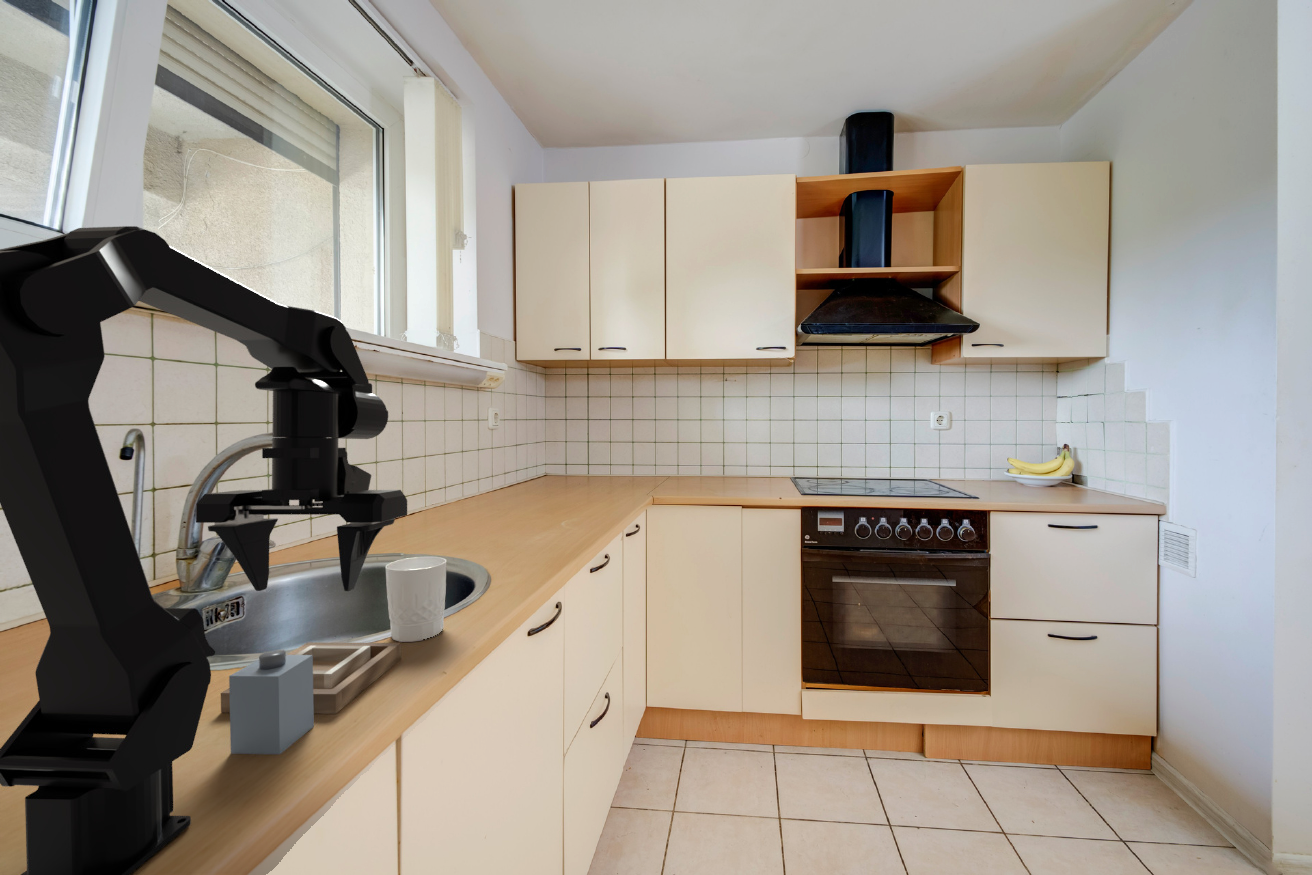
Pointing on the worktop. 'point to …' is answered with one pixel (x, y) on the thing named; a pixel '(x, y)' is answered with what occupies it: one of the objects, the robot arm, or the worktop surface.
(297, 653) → the walnut box
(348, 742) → the worktop surface
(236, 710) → the block
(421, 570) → the white cup
